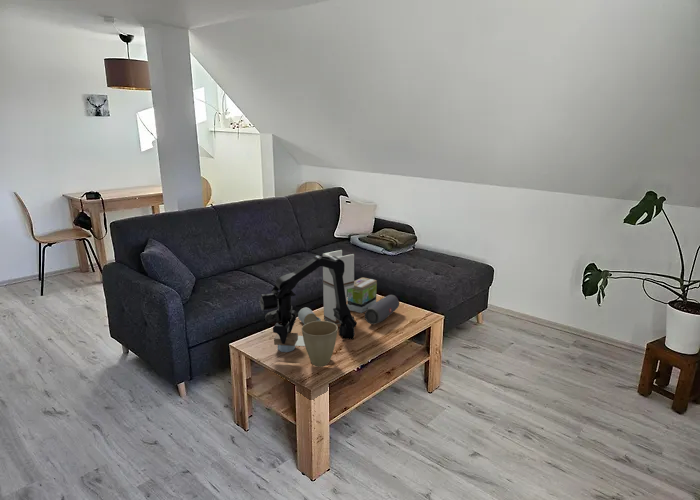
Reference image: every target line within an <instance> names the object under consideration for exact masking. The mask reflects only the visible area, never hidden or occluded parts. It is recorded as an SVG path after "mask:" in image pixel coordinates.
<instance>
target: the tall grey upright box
mask: <svg viewBox="0 0 700 500" xmlns="http://www.w3.org/2000/svg"><path fill="white" fill-rule="evenodd" d="M322 256H326V257H332V256H336V257H337V258H339V259H341V260H342V261H343V262H344V264H345V268H344V274H343V282H344V289H345V296H346V303H347V295H348V289H350V288H353V287H354V281H355V254H354V253H352V254H351V253H350V254H346V255H343V250H342V249H340V250H339V249H338V250H335V251H330V252H329V251H328V252H325V253H322ZM322 281H323V282H322V288H323V289H322V290H323V291H322V292H323V294H322V295H323V296H322V297H323V320H324V321H328V322H332V323H334V324H336V325H341V323H340V322H339V320H337V319H336V317H335V316H334V311H333V308H336V306H337V303H336V296H335V290H334V283H333V277H332V275H331V273H330V271H329V269H328V268H326V267H322ZM352 319H353V320H354V321H355V316H354V315H352Z"/></svg>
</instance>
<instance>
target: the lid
mask: <svg viewBox="0 0 700 500" xmlns="http://www.w3.org/2000/svg"><path fill="white" fill-rule="evenodd" d="M298 336H299V335H298V332H291V333H288V336H287V339H286V342H285V344H282V342H281V339H280V337H279V335H278V334H277V333H276V335H275V336H274V338H273V345H275V346H278V345H288V346H295V344H296V342H297V340H298ZM295 347H296V346H295Z"/></svg>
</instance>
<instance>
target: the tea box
mask: <svg viewBox="0 0 700 500" xmlns="http://www.w3.org/2000/svg"><path fill="white" fill-rule="evenodd" d="M377 281H378V280H376V279H373V278H367V277H362V276H361V277H360V278H358V279H356V280H354V287H353V288H350V289H347V302H346V303H347V306H348V308H349V310H350V312H351V311H352V312H355V313H359V314H363V313H365V312H366V310H367V309H368V308H369V307H371V306H372V305H373V304H375V303H376V302H377V290H378V289H377V286H378V282H377Z"/></svg>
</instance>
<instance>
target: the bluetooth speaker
mask: <svg viewBox="0 0 700 500" xmlns="http://www.w3.org/2000/svg"><path fill="white" fill-rule="evenodd" d="M399 307H400V300H399V299H398V297H397V295H394V294H388V295H386V296H384V297H383V298H380V299H379V300H378V301H376V303H375V304H373V305H372V306H371V307H369V308H368V309H367V310H366V311H364V320H365V321H366V322H367V323H368V324H370V325H377V324H379V323H382V322H383V321H385V320H386V319H388V317H389V316H391V315H392V314H393V313H394V312H395V311H396V310H398V308H399Z"/></svg>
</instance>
